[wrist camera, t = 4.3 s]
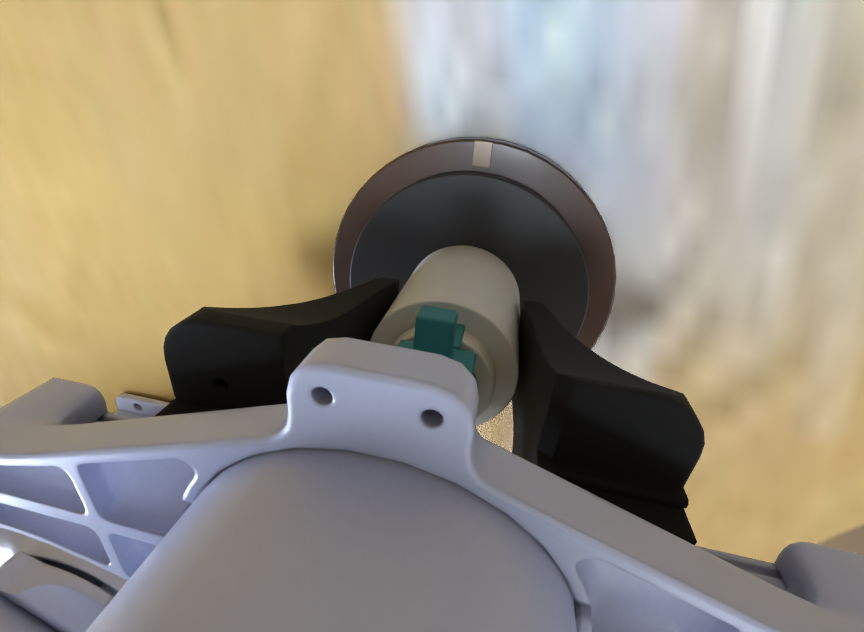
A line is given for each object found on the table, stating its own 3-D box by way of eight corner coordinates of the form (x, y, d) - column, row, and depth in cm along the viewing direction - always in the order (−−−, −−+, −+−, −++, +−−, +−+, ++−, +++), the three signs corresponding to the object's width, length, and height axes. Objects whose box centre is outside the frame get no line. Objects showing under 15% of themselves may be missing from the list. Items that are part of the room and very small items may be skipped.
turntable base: (344, 368, 20) (335, 381, 19) (337, 122, 15) (324, 123, 14) (572, 410, 19) (575, 427, 18) (651, 153, 14) (662, 157, 13)
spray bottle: (555, 405, 17) (576, 588, 11) (354, 366, 19) (261, 510, 12) (619, 188, 13) (718, 271, 7) (354, 156, 14) (209, 198, 8)
